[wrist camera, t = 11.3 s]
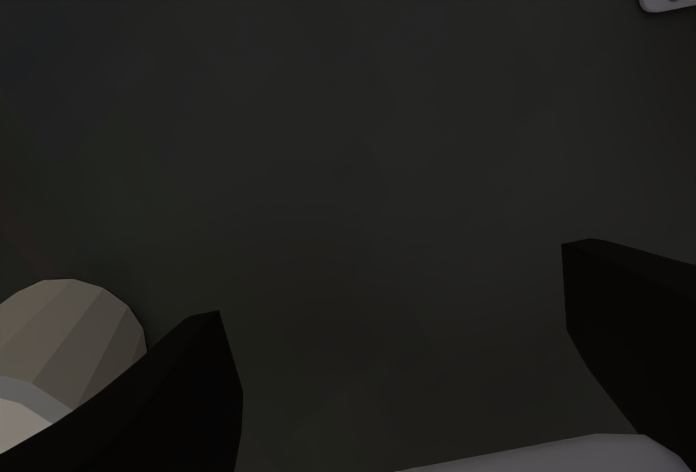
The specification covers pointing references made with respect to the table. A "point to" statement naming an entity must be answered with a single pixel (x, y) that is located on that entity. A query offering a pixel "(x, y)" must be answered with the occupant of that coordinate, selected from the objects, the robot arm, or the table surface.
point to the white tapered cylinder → (60, 352)
